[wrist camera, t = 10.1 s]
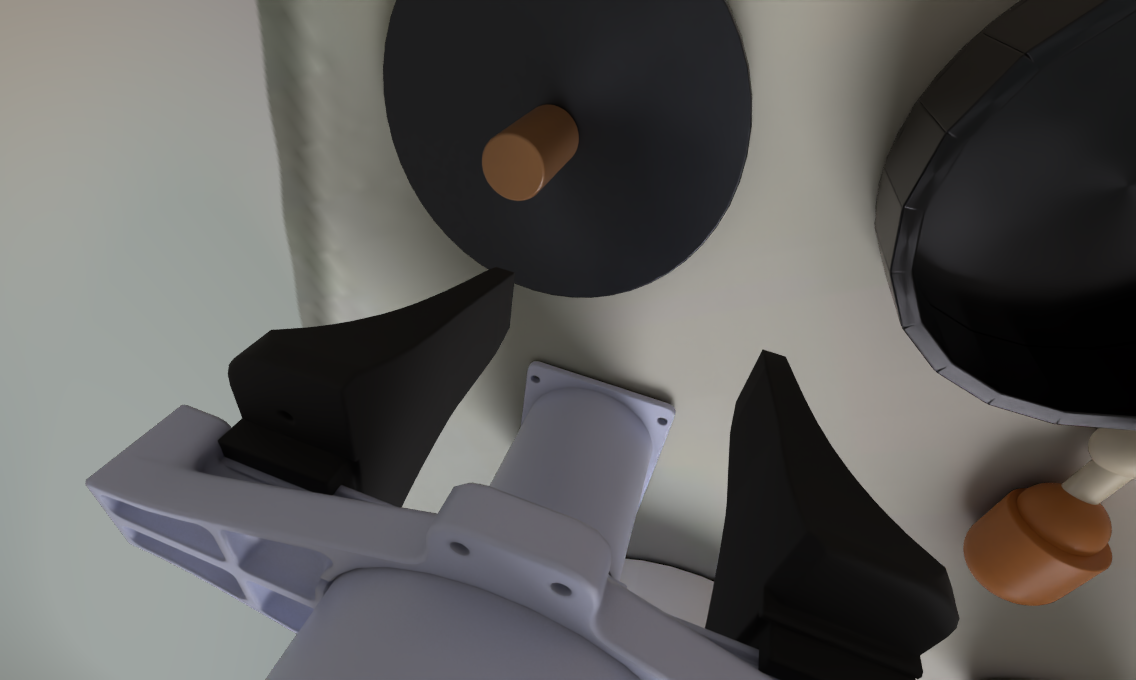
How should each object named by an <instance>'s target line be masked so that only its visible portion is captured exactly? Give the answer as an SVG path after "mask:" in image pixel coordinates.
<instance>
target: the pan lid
mask: <svg viewBox="0 0 1136 680" xmlns="http://www.w3.org/2000/svg"><path fill="white" fill-rule="evenodd" d="M383 81H384V98H385V106H386V113H387V119H388V123H389V127H390V132H391V136H392V140H393V143H394V146H395V149H396V152H397V155H398V157H399V160H400V163H401V165H402V167H403V170H404V172H405V174H406V176H407V178H408V180H409V183H410V185H411V186H412V188H413V190H414V191H415V193H416V195H417V196H418V198H419V200H420V202H421V203H422V205H423V206H424V207H425V209H426V210H427V212H428V213H429V214H430V216H431V217H432V219H433V220H434V221H435V222H436V224H437V225H438V226H439V227H440V228H441V229H442V230H443V232H444V233H445V234H446V235H447V236H448V237H449V238H450V239H451V240H452V241H453V242H454V243H455V244H456V245H457V246H458V247H459V248H460V249H462V250H463V251H464V252H465V253H466V254H468V255H469V256H470V257H471V258H473V259H474V260H475V261H477V262H478V263H479V264H481V265H482V266H484V267H485V268H487V269H489V270H490V269H492V268H494V267H498V268H501V269H505V270H508V271H511V272H514V273H515V278H514V283H515V284H518V285H520V286H523V287H526V288H529V289H531V290H534V291H539V292H543V293H547V294H551V295H557V296H565V297H583V298H592V297H601V296H610V295H615V294H619V293H623V292H627V291H631V290H634V289H636V288H639V287H642V286H644V285H647V284H649V283H651V282H653V281H655V280H657V279H659V278H661V277H662V276H664V275H666V274H668V273H670V272H671V271H672V270H674V269H675V268H676V267H678V266H679V265H681V264H682V263H683V262H685V261H686V260H687V259H688V258H689V257H690V256H691V255H692V254H693V253H694V252H695V251H697V250H698V249H699V248H700V247H701V246H702V245H703V243H704V242H705V241H706V240H707V238H708V237H709V236H710V235H711V233H712V232H713V231H714V230H715V228H716V227H717V226H718V224H719V222H720V221H721V219H722V217H723V216H724V214H725V212H726V211H727V209H728V207H729V206H730V203H731V201H732V199H733V197H734V194H735V192H736V190H737V187H738V185H739V183H740V179H741V176H742V172H743V169H744V165H745V162H746V158H747V154H748V147H749V140H750V134H751V127H752V89H751V81H750V72H749V65H748V61H747V57H746V53H745V49H744V45H743V41H742V37H741V34H740V31H739V29H738V26H737V24H736V21H735V19H734V17H733V14H732V12H731V9H730V7H729V4H728V3H727V1H726V0H396V3H395V6H394V9H393V12H392V15H391V18H390V23H389V27H388V32H387V37H386V42H385V52H384V64H383Z"/></svg>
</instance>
